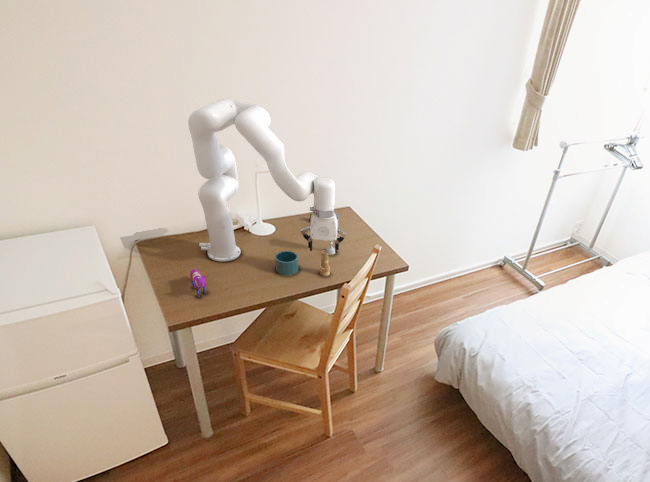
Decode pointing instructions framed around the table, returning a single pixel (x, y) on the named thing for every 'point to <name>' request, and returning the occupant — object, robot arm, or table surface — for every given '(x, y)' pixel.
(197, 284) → the toy dog
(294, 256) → the crock
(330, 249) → the chalice
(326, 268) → the pestle
